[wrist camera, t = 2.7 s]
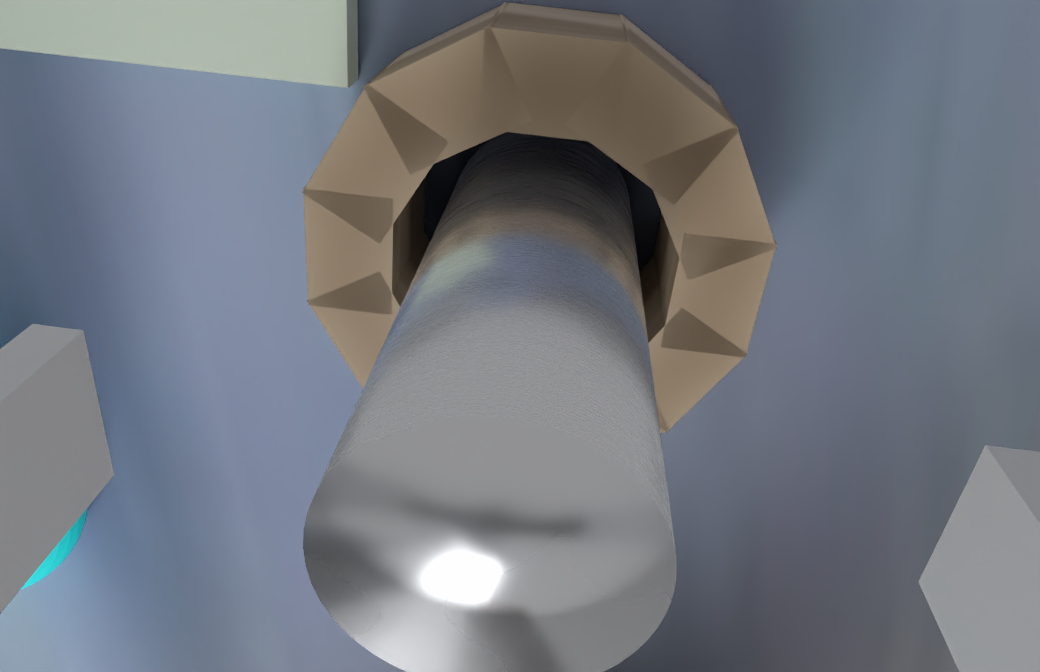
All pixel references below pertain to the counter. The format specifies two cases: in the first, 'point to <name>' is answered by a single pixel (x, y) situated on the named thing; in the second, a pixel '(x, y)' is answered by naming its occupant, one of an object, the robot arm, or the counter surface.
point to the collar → (561, 114)
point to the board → (196, 35)
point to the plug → (507, 437)
